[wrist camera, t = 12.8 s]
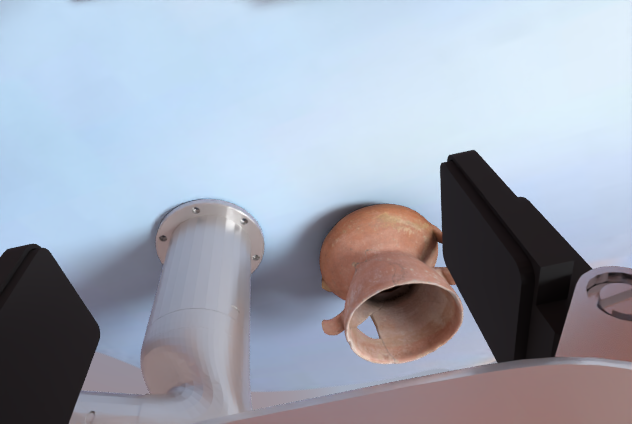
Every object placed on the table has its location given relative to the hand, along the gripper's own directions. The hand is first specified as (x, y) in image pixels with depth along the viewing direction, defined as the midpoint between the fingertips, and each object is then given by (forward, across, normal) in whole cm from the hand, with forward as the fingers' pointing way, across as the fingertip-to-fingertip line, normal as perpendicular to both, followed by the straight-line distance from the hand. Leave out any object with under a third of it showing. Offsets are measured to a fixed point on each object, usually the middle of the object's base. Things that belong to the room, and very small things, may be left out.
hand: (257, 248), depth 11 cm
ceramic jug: (+36, -8, +30) cm, 48 cm away
